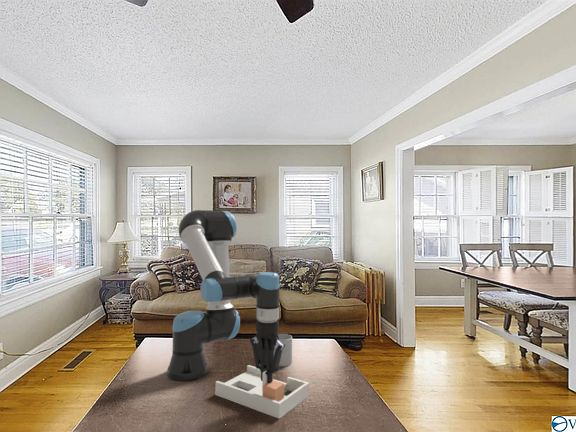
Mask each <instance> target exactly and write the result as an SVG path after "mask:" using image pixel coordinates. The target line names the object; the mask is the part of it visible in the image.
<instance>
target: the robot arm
mask: <svg viewBox="0 0 576 432" xmlns="http://www.w3.org/2000/svg"><path fill="white" fill-rule="evenodd" d="M182 217H183V218H182V219H181V220H180V222H179V225H178V235H179V239H180V240H181V242H182V243H183V244H184V245H186V247H187V249H188V252H189V253H190V255H191V258H192V260H193V262H194V264H195V266H196V267H197V271H198V273H199V275H200V277H201V279H202V281H201V283H200V295H201V298H202V300H203V301H204V302H207V303H208V305H207V306H206V308H205V312H204V311H202V310H198V309H195V310H187V311H184V312H181V313H179V314H177V315H176V316H174V318H173V321H172V322H173V323H172V354H171V358H170V362H169V365H168V366H167V372H166V373H167V377H168V378H169V379H171V380H173V381H182V382H184V381H192V380H197V379H199V378H202V377H204V376H205V375H206V374H207V373H208V365H207V362H206V357H205V354H204V344H210V343H214V342H215V343H216V342H219V341H220V342H221V341H227V340H230V339H233V338H235V337H236V336H237V334H238V333H239V331H240V328H241V316H240V314H239V311H238V310H237V309H235V306H234V304H232V302H231V300H237V299H238V300H239V299H247V298H252V299H253V298H254V299H256V303H255V305H256V306H255V307H256V311H255V312H256V315H255V316H256V317H255V318H256V321H255V331H256V334H255V336H254V337H252V338H250V339H249V342H250V344H251V347H252V352H253V357H254V363H255V367H256V368H257V369H260V371H261V381H262V393H263V385H264V384H266V383H271V382H272V381H273V379H274V378H273V377H274V373H276V372H278V371H279V368H280V366H279V363H280V359H281V354H282V350H283V349H284V347H285V344H284V343H283V344H282V343H281V342H280V341H279V337H278V334H279V331H280V330H279V329H280V326H279V325H280V321H279V319H280V288H281V285H280V275H279V274H278V273H277V272H272V271H271V272H270V271H262V272H261V271H260V272H258V273H257V274H253V273H250V274H249V273H244V274H243V275H241V276H230V262H229V261H230V259H229V255H230V254H229V246H230V244H231V243H232V242H233V240H232V239H233V238H235V236H236V235H237V230H238V228H237V221H236V218H235V216H234V215H233V214H232V212H230V211H226V210H206V209H205V210H204V209H203V210H202V209H201V210H200V209H196V210H191V211H189V212H187V213H186V214H185V215H183V216H182ZM275 345H276V350H275ZM274 350H275V354H274Z"/></svg>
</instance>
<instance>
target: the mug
mask: <svg viewBox="0 0 576 432" xmlns="http://www.w3.org/2000/svg"><path fill="white" fill-rule="evenodd" d="M278 337H279V341H280V342H281V343H282V344H283V343H284V344H285V347H284V349H283V350H282V354H281V359H280V363H279V367H287V366H291V365H292V363H293V336H292V335H291V334H287V333H278ZM275 350H276V345H275ZM275 350H274V354H275Z"/></svg>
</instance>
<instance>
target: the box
mask: <svg viewBox="0 0 576 432" xmlns="http://www.w3.org/2000/svg"><path fill="white" fill-rule="evenodd" d="M273 380H274V381H277V382H280V383H284V399H282V400H281V401H279V402H278V401H275V400H272V399H269V398H266V397H264V396H263V393H262V381H261V371H260V369H257V368H256V366H253V365H250V364H248V365H246V371H245V372H243V373H241V374H239V375H237V376H234V377H233V378H231V379H229V380H227V381H225V382H223V381H219V380H215V387H214V388H215V390H214V391H215V392H214V394H215V396H217V397H220V398H222V399H226V400H229V401H230V402H234V403H237V404H239V405H241V406H244V407H246V408H249V409H252V410H255V411H257V412H260V413H262V414H265V415H269V416H270V417H273V418H276V419H281V418H283V417H284V416H285V415H287V414H288V413H289V412H291V410H293V409H294V408H296V407H297V406H298V405H299V404H300V403H302V402H303V401H304V400H306V399H307V398H308V397H310V382H307V381H304V380H302V379H297V378H294V377H291V376H288V377H287V378H286V382H284V381H281V380H277V379H274V378H273Z"/></svg>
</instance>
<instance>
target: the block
mask: <svg viewBox="0 0 576 432" xmlns="http://www.w3.org/2000/svg"><path fill="white" fill-rule="evenodd" d="M274 380H275V379H274ZM274 380H273V381H272V382H271V383H266V384H264V385H263V396H264V397H266V398H269V399H272V400H275V401H278V402H279V401H281V400H282V399H284V383H285V382H284V383H280V382H277V381H274Z"/></svg>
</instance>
